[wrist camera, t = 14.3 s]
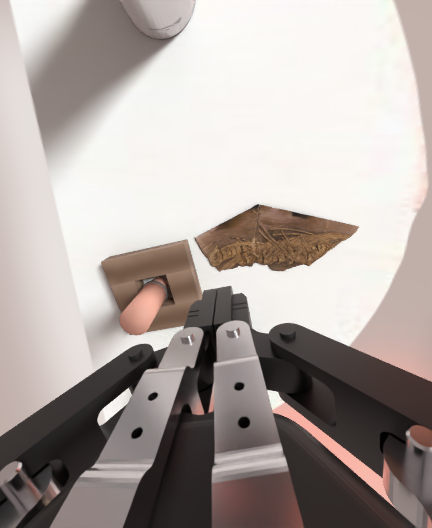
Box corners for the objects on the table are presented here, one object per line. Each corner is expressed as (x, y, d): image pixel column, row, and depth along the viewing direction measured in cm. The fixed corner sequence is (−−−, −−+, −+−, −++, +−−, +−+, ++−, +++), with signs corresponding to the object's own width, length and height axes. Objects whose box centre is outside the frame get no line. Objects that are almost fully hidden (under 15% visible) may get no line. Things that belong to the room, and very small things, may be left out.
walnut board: (109, 256, 42) (101, 262, 39) (187, 239, 40) (183, 243, 38) (136, 325, 46) (130, 335, 44) (207, 312, 45) (205, 321, 42)
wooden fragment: (197, 270, 42) (196, 272, 41) (193, 206, 39) (192, 206, 38) (350, 268, 41) (353, 270, 40) (360, 200, 37) (364, 201, 36)
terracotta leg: (144, 276, 43) (113, 310, 32) (167, 271, 43) (144, 304, 31) (152, 298, 44) (124, 338, 33) (174, 294, 44) (154, 333, 32)
